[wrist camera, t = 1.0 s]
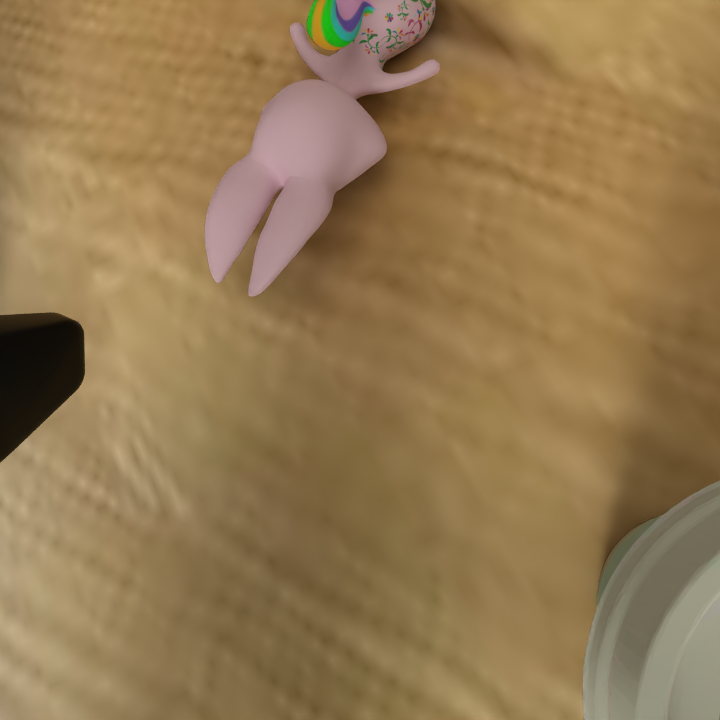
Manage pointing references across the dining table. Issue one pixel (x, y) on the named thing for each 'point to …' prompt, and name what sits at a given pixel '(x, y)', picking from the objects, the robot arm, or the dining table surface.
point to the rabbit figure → (314, 133)
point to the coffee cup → (659, 619)
